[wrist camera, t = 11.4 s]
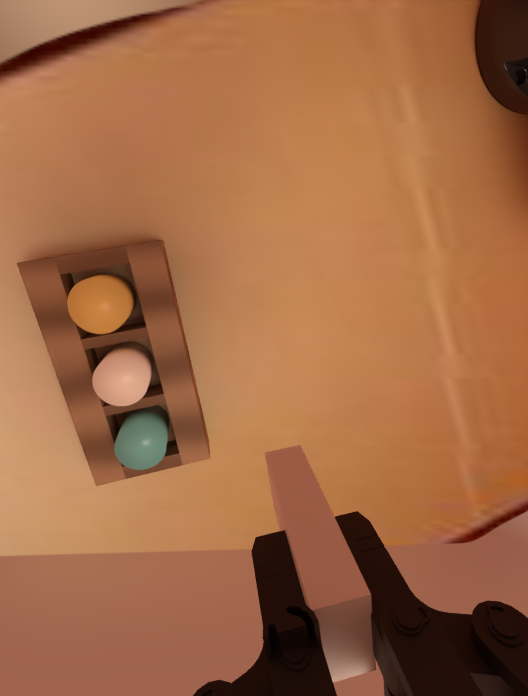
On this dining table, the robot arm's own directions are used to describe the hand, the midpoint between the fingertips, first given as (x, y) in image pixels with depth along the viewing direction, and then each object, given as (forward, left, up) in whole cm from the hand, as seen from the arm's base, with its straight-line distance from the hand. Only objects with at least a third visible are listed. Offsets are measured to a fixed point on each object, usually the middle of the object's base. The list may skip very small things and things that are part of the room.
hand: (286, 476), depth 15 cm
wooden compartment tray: (+1, -11, -26) cm, 28 cm away
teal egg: (+8, -11, -25) cm, 28 cm away
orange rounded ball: (-6, -11, -25) cm, 28 cm away
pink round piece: (+1, -11, -25) cm, 27 cm away
